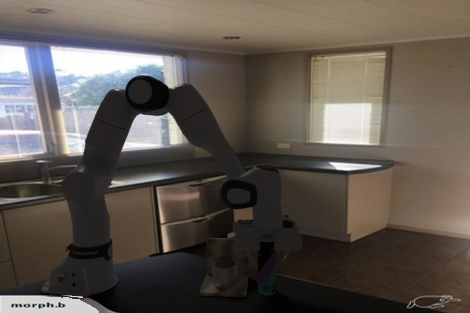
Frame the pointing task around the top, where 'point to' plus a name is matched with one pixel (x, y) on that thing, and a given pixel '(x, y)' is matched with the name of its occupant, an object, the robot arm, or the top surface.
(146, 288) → the top surface
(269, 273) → the spray can
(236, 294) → the brown l-shaped piece
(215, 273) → the ring
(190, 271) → the top surface
